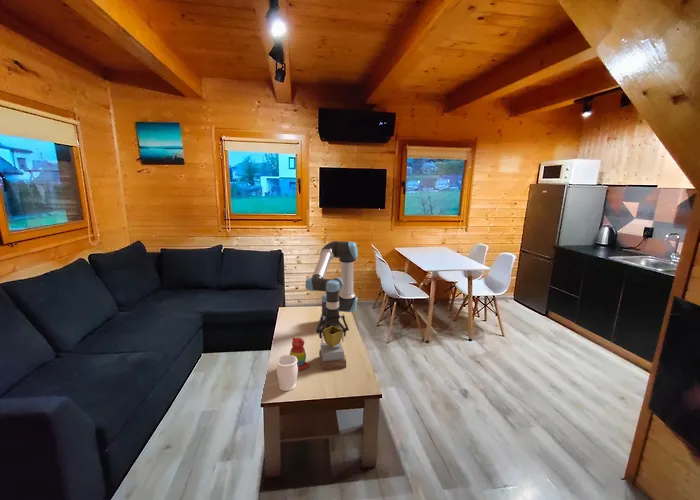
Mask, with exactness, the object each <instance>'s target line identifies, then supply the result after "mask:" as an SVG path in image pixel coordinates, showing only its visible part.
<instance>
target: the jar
mask: <svg viewBox="0 0 700 500" xmlns="http://www.w3.org/2000/svg"><path fill="white" fill-rule="evenodd" d="M297 361H298V360H297V358H296V357H295V356H292V355H290V354H288V355H287V354H286V355H281V356H280V357H278V358H277V359H276V376H277V381H278V384H279V386H278V388H279V389H280V390H281V391H282V392H283V391H284V392H288V391H292V390H294V389H295V388H296V387H297V383H296V382H297V379H298V372H299V371H298V366H297Z"/></svg>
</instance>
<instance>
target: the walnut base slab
mask: <svg viewBox="0 0 700 500" xmlns="http://www.w3.org/2000/svg"><path fill="white" fill-rule="evenodd" d="M319 362H320V366H321V371H326V370H327V371H329V370H337V369H346V368H347V359H346V356H345V354H344V359H342V360H333V361H323V359H322V355H321V351H320V349H319Z"/></svg>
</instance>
